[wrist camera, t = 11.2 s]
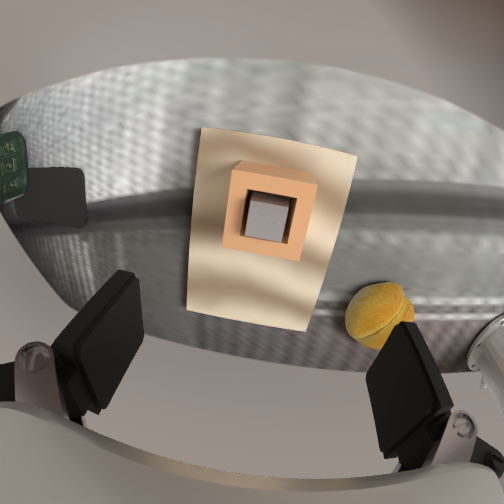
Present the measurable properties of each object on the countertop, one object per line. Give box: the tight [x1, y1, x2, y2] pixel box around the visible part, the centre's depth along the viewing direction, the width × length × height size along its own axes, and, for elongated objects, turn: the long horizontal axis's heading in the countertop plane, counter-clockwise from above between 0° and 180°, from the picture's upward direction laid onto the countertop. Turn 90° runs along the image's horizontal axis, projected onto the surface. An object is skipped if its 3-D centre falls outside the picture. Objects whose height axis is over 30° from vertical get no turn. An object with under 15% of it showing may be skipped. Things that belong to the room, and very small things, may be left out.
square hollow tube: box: [222, 160, 318, 261], centre depth 22 cm, size 6×6×6 cm
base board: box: [187, 127, 358, 331], centre depth 27 cm, size 20×14×1 cm
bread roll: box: [345, 282, 414, 349], centre depth 29 cm, size 8×9×4 cm
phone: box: [15, 167, 87, 228], centre depth 28 cm, size 7×1×15 cm
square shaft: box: [245, 190, 289, 242], centre depth 22 cm, size 3×3×6 cm
